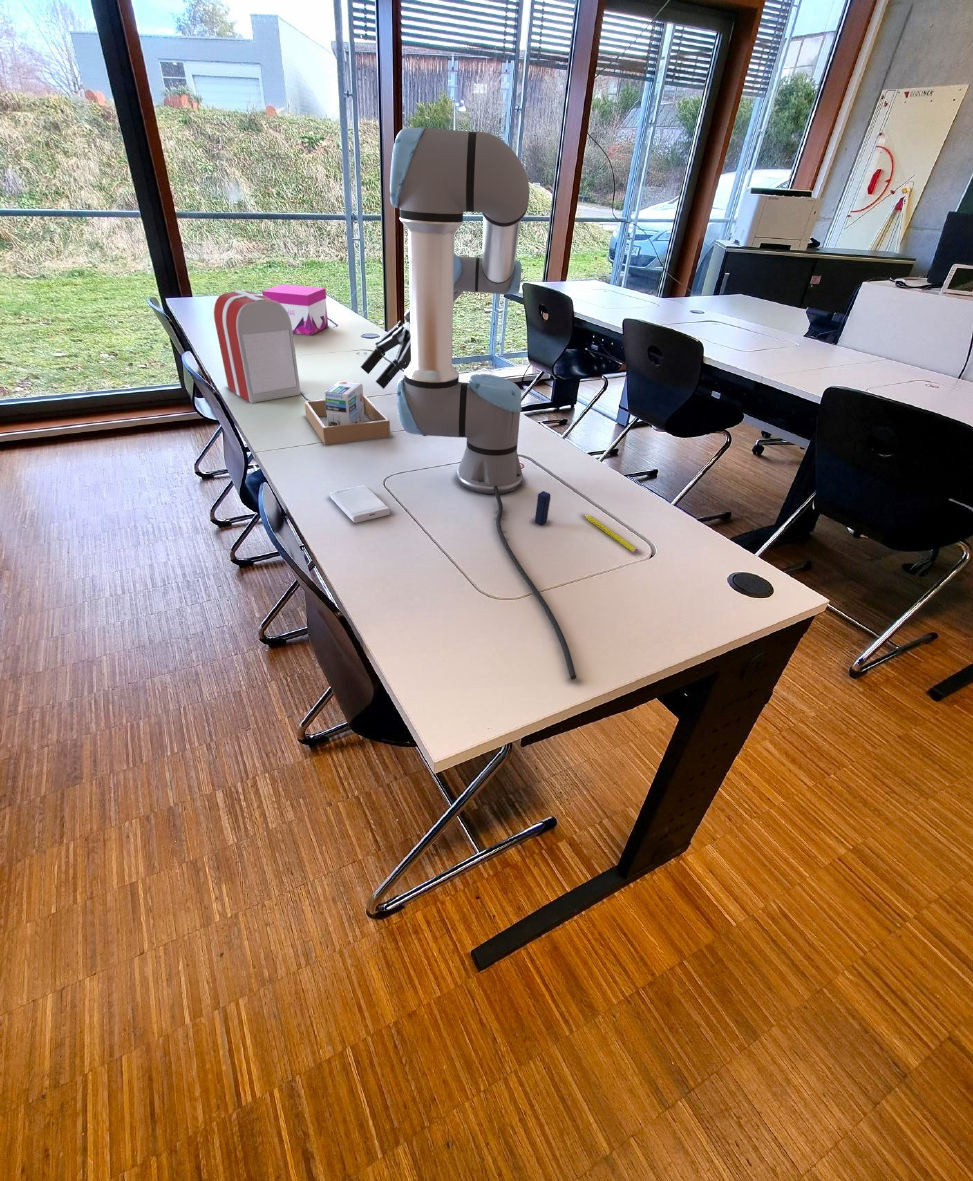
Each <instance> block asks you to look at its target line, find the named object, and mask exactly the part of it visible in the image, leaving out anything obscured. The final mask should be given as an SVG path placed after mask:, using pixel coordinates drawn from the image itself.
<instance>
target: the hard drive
mask: <svg viewBox="0 0 973 1181" xmlns="http://www.w3.org/2000/svg"><path fill="white" fill-rule="evenodd" d="M329 497H330V499H331V500H332V501H333V502H334V503H335V504H336V505H337V506H338V508H339V509H340V510H341V511H342V512H343V513H344V514H345V515H346V516H347V517H348V518H349V519H350V520H351V522H353V523H354V524H357V523H361V522H365V521H369V520H373V519H377V518H381V517H382V518H383V517H386V516H390V515H391V508H390V507H388V505H387V504H386V503H385V502H383V501H382V499H380V498H379V497H378V496H377V495H376V494H375V493H374V492H373V491H372V490H371V489H370V488H368V486H367V485H366V484H360V485H357V486H352V487H347V488H343V489H338V490H333V491H331V492H330V493H329Z"/></svg>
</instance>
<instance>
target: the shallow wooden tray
mask: <svg viewBox="0 0 973 1181" xmlns="http://www.w3.org/2000/svg"><path fill="white" fill-rule="evenodd" d="M363 402H364V414H366V415H367V417H369V418H370V420H371V421H365V422H363V423H354V424H345V425H336V426H328V425H325V424H324V422H323V421H322V420H321V419H320V417H327V411H326V401H325V398H324V399H313V400H304V401H303V403H304V412H305V417H306V419H307V421H308V422H309V423H310V424H311V427H312V428H313V430H314V432H316V434H317V435H318V437H319V439H320V440H321V441H322V443H323V444H324V446H327V445H335V444H344V443H353V442H360V441H368V440H369V441H370V440H375V439H377V440H378V439H384V438H391V421H390V419H389V418H388V417H387V416H386V415H385V414H384V413H383V412H382V411H381V410H380V409H379V408H378V407H377V406H376V405H375V404H374V402H372V400H371V399H369V397H367V395H363Z"/></svg>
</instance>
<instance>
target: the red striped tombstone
mask: <svg viewBox="0 0 973 1181" xmlns="http://www.w3.org/2000/svg"><path fill="white" fill-rule="evenodd" d="M213 320H214V326H215V330H216V336H217V340H218V345H219V349H220V356H221V359H222V365H223V371H224V374H225V380H226V384H227V389H229V390H231V391H232V392H233V393H235V394H236V395H238V396H239V397H241V398H242V399H244V400H245V401H247V402H248V403H250V404H254V403H260V402H265V401H266V402H267V401H270V400H277V399H282V398H288V397H293V396H299V395H301V394H302V393H301V386H300V376H299V370H298V363H297V362H298V361H297V357H296V356H297V354H296V348H295V346H296V345H295V340H294V339H295V338H294V333H293V331H292V324H291V320H290V317H289V315H288V313H287V311H286V309H285V308H284V307H283V306H282V305H281V304H280V303H278V302H276V301H274V300H271V299H270V298H268V297H266V296H263V295H262V294H259V293H256V292H253V291H247V290H246V291H245V290H241V289H237V290H236V289H235V290H233V291H230V292H224V293H222V294H220V295H219V296H218V297H217V298H216V300H215V302H214V306H213Z"/></svg>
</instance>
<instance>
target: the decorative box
mask: <svg viewBox="0 0 973 1181" xmlns="http://www.w3.org/2000/svg"><path fill="white" fill-rule="evenodd" d="M261 295H263V296H266V297H268V298H270V299H271V300H274V301H276V302H278V303H280V304H281V305H282V306H283V307H284V308H285V309H286V311H287V313H288V315H289V317H290V320H291V324H292V331H293V334H297V335H306V336H312V335H315V334H316V333H318V332H320V331H321V330H324V329H325V328H327V327H329V321H328V311H327V301H326V299H327V289H326V288H325V287H315V286H307V285H306V286H305V285H295V284H286V283H285V284H279V285H276V286H273V287H270V288H267V289H264V290H262V291H261Z"/></svg>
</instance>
